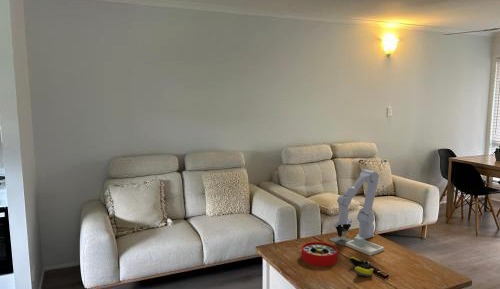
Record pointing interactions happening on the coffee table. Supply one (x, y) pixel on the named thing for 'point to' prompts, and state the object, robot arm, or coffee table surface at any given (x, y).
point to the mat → (340, 240)
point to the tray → (366, 247)
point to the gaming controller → (361, 267)
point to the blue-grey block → (359, 241)
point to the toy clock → (319, 253)
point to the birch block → (344, 234)
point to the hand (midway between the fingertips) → (342, 235)
